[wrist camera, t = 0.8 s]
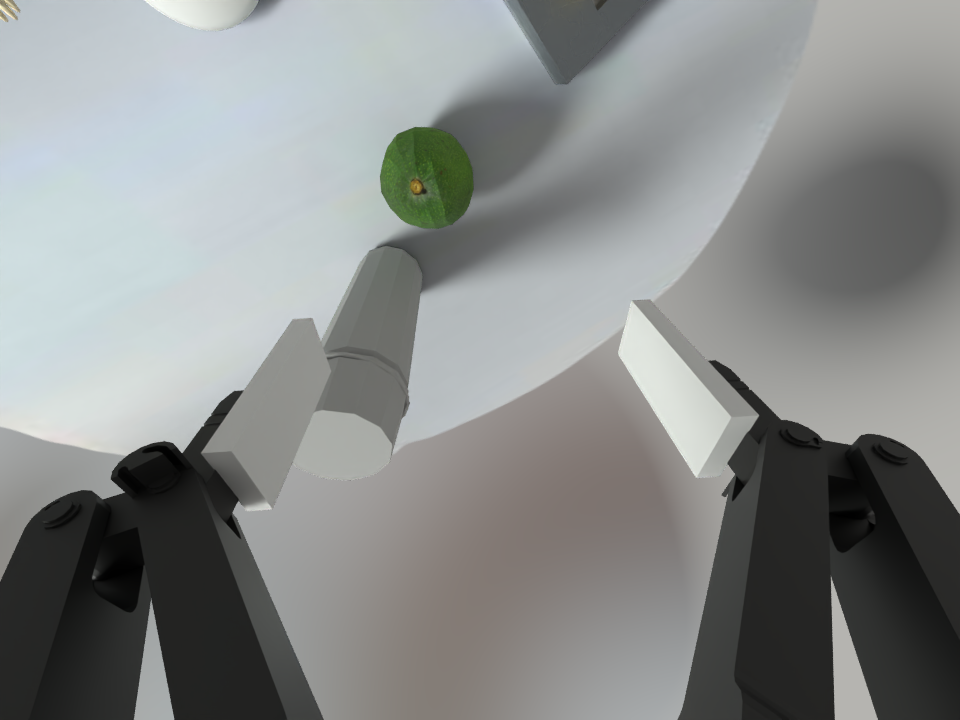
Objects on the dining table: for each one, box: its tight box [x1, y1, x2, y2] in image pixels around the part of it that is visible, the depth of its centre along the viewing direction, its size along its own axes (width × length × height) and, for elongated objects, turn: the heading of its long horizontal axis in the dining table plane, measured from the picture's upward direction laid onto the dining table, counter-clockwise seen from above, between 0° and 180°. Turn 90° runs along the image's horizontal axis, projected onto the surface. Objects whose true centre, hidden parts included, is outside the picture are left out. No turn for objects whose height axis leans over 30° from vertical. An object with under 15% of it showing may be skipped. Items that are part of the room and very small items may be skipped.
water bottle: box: [293, 246, 423, 481], centre depth 31 cm, size 9×8×25 cm
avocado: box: [380, 127, 474, 229], centre depth 30 cm, size 8×8×12 cm
